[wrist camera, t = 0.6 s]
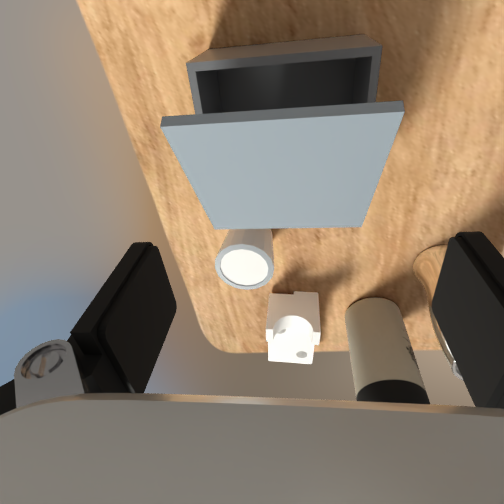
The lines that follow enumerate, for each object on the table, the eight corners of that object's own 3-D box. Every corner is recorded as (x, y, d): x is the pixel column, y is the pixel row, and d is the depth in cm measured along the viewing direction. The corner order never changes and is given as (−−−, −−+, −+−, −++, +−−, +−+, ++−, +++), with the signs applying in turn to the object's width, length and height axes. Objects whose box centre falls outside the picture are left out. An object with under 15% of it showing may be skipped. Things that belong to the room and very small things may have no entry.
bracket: (269, 288, 50) (265, 328, 44) (318, 291, 49) (320, 332, 43) (269, 342, 57) (266, 383, 52) (311, 345, 57) (312, 387, 51)
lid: (162, 116, 20) (160, 126, 20) (402, 100, 18) (404, 111, 18) (215, 222, 33) (214, 229, 33) (360, 219, 31) (361, 227, 31)
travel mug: (345, 332, 53) (362, 454, 39) (343, 297, 49) (362, 422, 34) (397, 330, 52) (435, 457, 38) (401, 294, 47) (446, 423, 33)
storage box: (208, 49, 31) (186, 63, 25) (364, 34, 29) (382, 45, 23) (228, 185, 39) (215, 222, 33) (350, 181, 37) (360, 219, 31)
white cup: (240, 260, 46) (232, 296, 41) (215, 222, 43) (203, 255, 37) (285, 245, 44) (283, 281, 38) (262, 203, 40) (257, 236, 35)
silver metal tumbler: (452, 286, 45) (506, 389, 33) (400, 279, 45) (436, 379, 34) (478, 245, 41) (552, 348, 29) (421, 237, 41) (471, 336, 29)
